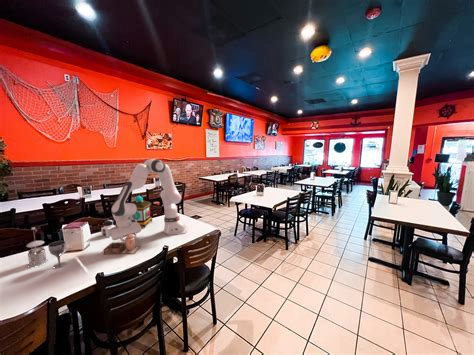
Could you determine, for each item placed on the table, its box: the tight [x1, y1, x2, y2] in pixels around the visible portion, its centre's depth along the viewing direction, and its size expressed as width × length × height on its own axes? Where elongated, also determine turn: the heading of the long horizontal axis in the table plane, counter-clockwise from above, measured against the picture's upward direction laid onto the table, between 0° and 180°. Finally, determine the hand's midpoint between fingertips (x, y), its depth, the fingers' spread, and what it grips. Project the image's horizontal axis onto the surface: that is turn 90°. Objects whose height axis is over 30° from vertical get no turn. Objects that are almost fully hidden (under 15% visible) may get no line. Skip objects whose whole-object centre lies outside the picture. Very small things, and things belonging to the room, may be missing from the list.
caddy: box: [102, 241, 142, 256], centre depth 142 cm, size 22×12×4 cm, turn 94°
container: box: [100, 219, 117, 238], centre depth 167 cm, size 8×8×13 cm
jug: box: [124, 234, 136, 250], centre depth 141 cm, size 8×6×10 cm
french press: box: [26, 227, 49, 268], centre depth 124 cm, size 10×12×25 cm
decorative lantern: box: [129, 195, 153, 229], centre depth 189 cm, size 20×20×30 cm
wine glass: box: [47, 240, 67, 269], centre depth 123 cm, size 8×8×15 cm
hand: (130, 240), depth 141 cm, fingers closed on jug, 6 cm apart
